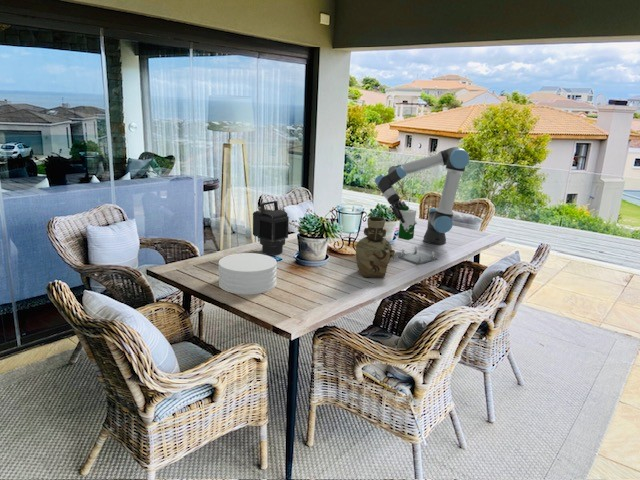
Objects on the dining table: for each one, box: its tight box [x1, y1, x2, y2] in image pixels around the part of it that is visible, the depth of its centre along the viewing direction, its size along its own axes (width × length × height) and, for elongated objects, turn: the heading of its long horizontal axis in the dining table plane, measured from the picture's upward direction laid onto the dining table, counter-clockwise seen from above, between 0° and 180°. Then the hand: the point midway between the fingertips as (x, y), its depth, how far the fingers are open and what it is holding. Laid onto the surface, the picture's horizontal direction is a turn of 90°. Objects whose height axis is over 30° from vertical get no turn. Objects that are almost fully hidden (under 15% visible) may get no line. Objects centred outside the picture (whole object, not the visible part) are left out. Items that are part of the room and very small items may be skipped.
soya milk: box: [397, 205, 417, 241], centre depth 299 cm, size 9×9×20 cm
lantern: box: [252, 200, 290, 256], centre depth 285 cm, size 15×18×30 cm
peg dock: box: [396, 245, 438, 266], centre depth 288 cm, size 18×16×5 cm
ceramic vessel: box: [355, 216, 396, 279], centre depth 256 cm, size 19×21×30 cm
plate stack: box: [218, 252, 278, 295], centre depth 235 cm, size 28×28×12 cm
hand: (411, 225), depth 297 cm, fingers closed on soya milk, 9 cm apart
